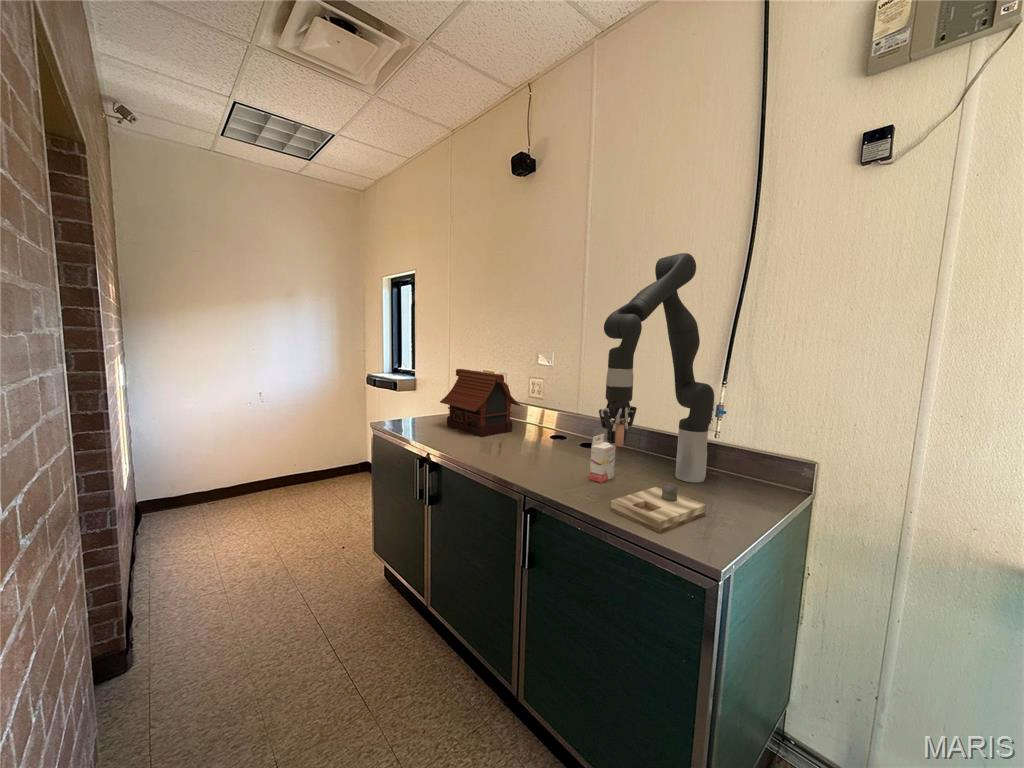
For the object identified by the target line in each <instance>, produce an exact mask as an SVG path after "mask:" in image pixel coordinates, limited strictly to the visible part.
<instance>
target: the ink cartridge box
mask: <svg viewBox="0 0 1024 768" xmlns="http://www.w3.org/2000/svg"><path fill="white" fill-rule="evenodd" d="M591 441H592V442H591V449H590V468H589V480H590V481H593V482H597V483H601V484H603V483H604V482H607V481H609V480H611V479H613V478H614V474H615V462H616V461H615V459H616V458H615V457H616V447H617V446H612V445H610V444H609V443H608V441H607V442H605V433H602V434H598V435H595V436H593V437H592V440H591Z"/></svg>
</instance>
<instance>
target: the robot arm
mask: <svg viewBox="0 0 1024 768" xmlns="http://www.w3.org/2000/svg"><path fill="white" fill-rule="evenodd" d="M654 269H655V270H654V271H655V272H654V273H655V279H656V280H655V281H654V282H652V283H651V284H648V285H647V286H645V287H644V288H642V289H641V290H640V291H638V293H637V294H635V296H634V297H632V298H631V300H630V301H628V303H626V304H624V305H623V306H621V307H619V308H617V309H616V310H614V311H613V312H611V313H610V314H609V315H608V316H607V317H606V319H605V321H604V324H603V331H604V334H605V335H606V336H607V337H608V338H609V339H613V340H621V342H620V344H619V345H618V346H615V347H612V348H611V349H610V350H609V351H608V356H607V357H608V359H607V372H606V382H605V399H606V401H607V404H606V407H605V408H603V409H602V408H600V409H599V410H598V414H599V420H600V424H601V428H602V429H605V430H607V431H606V432H607V434H606V435H607V436H606V440H607V443H611V444H614V443H615V432H616V431H615V429H616V424H618V423H621V424H624V442H626V440H627V432H628V431H627V430H628V429H629V427H632V426H633V424H634V420H635V417H636V412H637V408H638V407H637V406H631V403H630V402H631V401H632V400H633V392H634V359H635V357H634V356H635V353H636V350H637V345H638V343H639V341H640V340H639V339H640V337H641V333H642V329H643V328H642V327H643V326H642V324H643V323H642V322H644V321H646V320H647V319H648V318H649V317H650V316H651V315H652V313H653V312H654V311H655V310H657V308H658V307H659V306H660V305H661V304H662V305H663V306H662V307H663V311H664V316H665V322H666V327H667V335H668V341H669V345H670V346H669V347H670V352H671V358H672V364H673V375H674V377H673V378H674V391H675V392H674V393H675V397H676V401H677V403H678V404H679V405H680V406H681V407H683V408H686V409H689V411H688V412H689V413H688V416H686V417H685V418H681V419H680V420H679V422H678V433H677V449H676V462H675V463H676V465H675V474H674V475H675V478H676V479H678V480H680V481H682V482H687V483H694V484H695V483H697V484H699V483H703V482H705V479H706V474H707V461H708V460H707V459H708V438H709V437H708V435H709V427H710V424H711V423H712V420H713V419H712V418H713V414H714V413H713V411H714V404H715V403H714V402H715V392H714V389H713V387H712V386H711V385H710V384H708V383H704V382H700V381H699V382H697V381H696V379H695V374H694V362H695V358H696V356H697V354H698V351H699V347H700V341H701V339H700V332H699V327H698V326H699V325H698V323H697V320H696V317H694V315H693V314H692V313H691V312H690V310H689V309H688V308H687V307H686V306H685V305H684V303H683V302H682V300H681V299H680V297H679V294H678V290H679V289H680V288H682V287H684V286H685V285H686V284H688V283H689V282H690V281H691V280H692V279H694V277H695V275H696V272H697V262H696V260H695V258H694V257H693V255H692V254H690V253H688V252H684V253H675V254H672V255H669V256H668V255H667V256H665V257H661V258H659V259H658V260H657V261H656V263H655V268H654ZM611 423H613V424H612V426H611Z"/></svg>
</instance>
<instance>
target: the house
mask: <svg viewBox="0 0 1024 768" xmlns="http://www.w3.org/2000/svg"><path fill="white" fill-rule="evenodd" d="M455 377H457V379H456V381H455V383H454V384H453V386H452V388H451V389H450V391H449V392H448V393H447V395H445V396H444V397H443V398H442V399H441V400H440V401H439V403H440V404H443V405H448V406H449V407H447V409H448V410H449V412H448V413H449V415H447V417H446V426H447V427H448V428H451V429H454V430H456V431H457V430H458V431H460V432H464V433H466V434H468V435H469V434H470V435H473V436H476V437H479V438H485V437H490V436H495V435H500V434H505V433H506V434H507V433H508V434H509V433H512V432H513V421H512V420H511V414H513V412H512V411H511V407H512V405H515V406H519V407H520V406H521V404H520V403H519V402H518V401H517V400H516V399H515V398H513V396H512V394H511V391H510V388H509V385H508V383H506V382H505V376H504V374H499V373H491V372H486V371H484V372H483V371H478V370H473V369H472V370H471V369H464V368H455Z"/></svg>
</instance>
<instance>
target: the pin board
mask: <svg viewBox="0 0 1024 768" xmlns="http://www.w3.org/2000/svg"><path fill="white" fill-rule="evenodd" d="M678 489H679V485H678V484H676V483H674V482H663V483H662V488H661V487H658V486H655V487H651V488H648V489H644V490H640V491H639V492H634V493H630V494H627V495H624V496H622V497H618V498H615V499H611V501H610V512H612V513H614V514H616V515H618V516H621V517H623V518H626V519H627V520H629V521H632V522H634V523H636V524H639V525H640V526H643V527H645V528H646V529H648V530H649V529H650V530H652V531H654V532H656V533H657V534H662V533H664V532H667V531H669V530H672V529H674V528H676V527H680V526H682V525H684V524H686V523H689V522H691V521H694V520H697V519H699V518H701V517H704V516H706V508H707V504H705V503H702V502H700V501H697V500H694V499H692V498H688V497H686V496H683V495H681V494H679V493H678Z"/></svg>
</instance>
